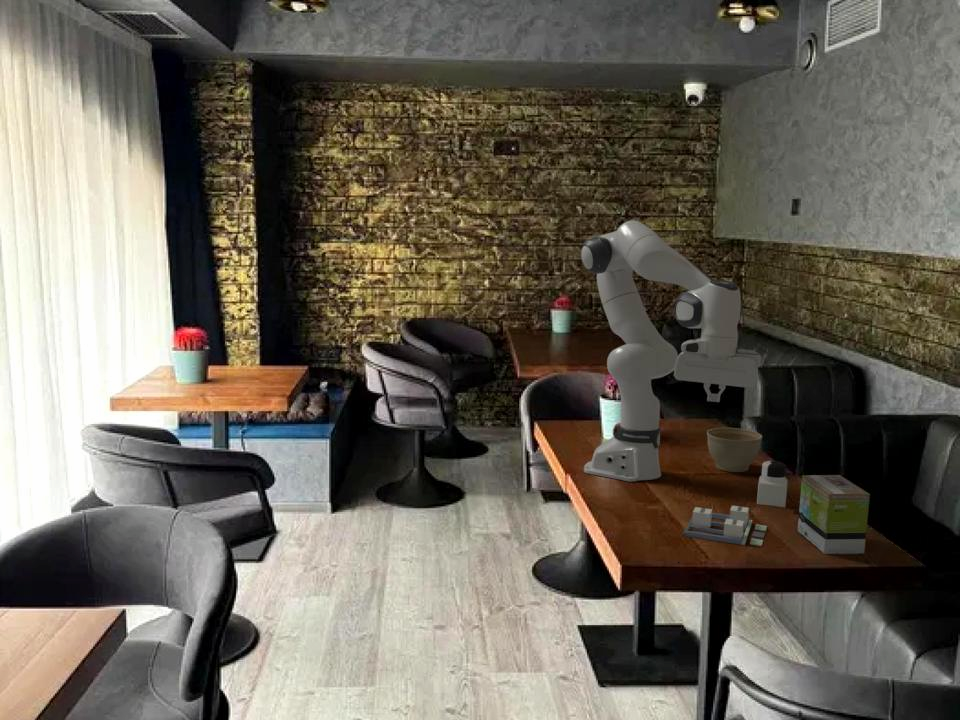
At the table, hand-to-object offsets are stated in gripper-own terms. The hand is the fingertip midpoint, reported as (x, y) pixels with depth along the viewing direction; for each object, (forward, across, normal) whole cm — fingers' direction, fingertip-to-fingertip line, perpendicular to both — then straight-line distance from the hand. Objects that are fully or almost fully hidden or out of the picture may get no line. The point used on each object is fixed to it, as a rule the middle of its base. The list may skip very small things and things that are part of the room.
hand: (713, 401), depth 229 cm
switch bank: (+30, -5, +13) cm, 33 cm away
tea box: (+29, -30, +7) cm, 43 cm away
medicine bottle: (+30, -16, -16) cm, 37 cm away
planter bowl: (+30, -2, -50) cm, 59 cm away
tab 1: (+28, -10, +8) cm, 31 cm away
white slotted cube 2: (+28, -1, +13) cm, 31 cm away
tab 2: (+28, -9, +19) cm, 35 cm away
